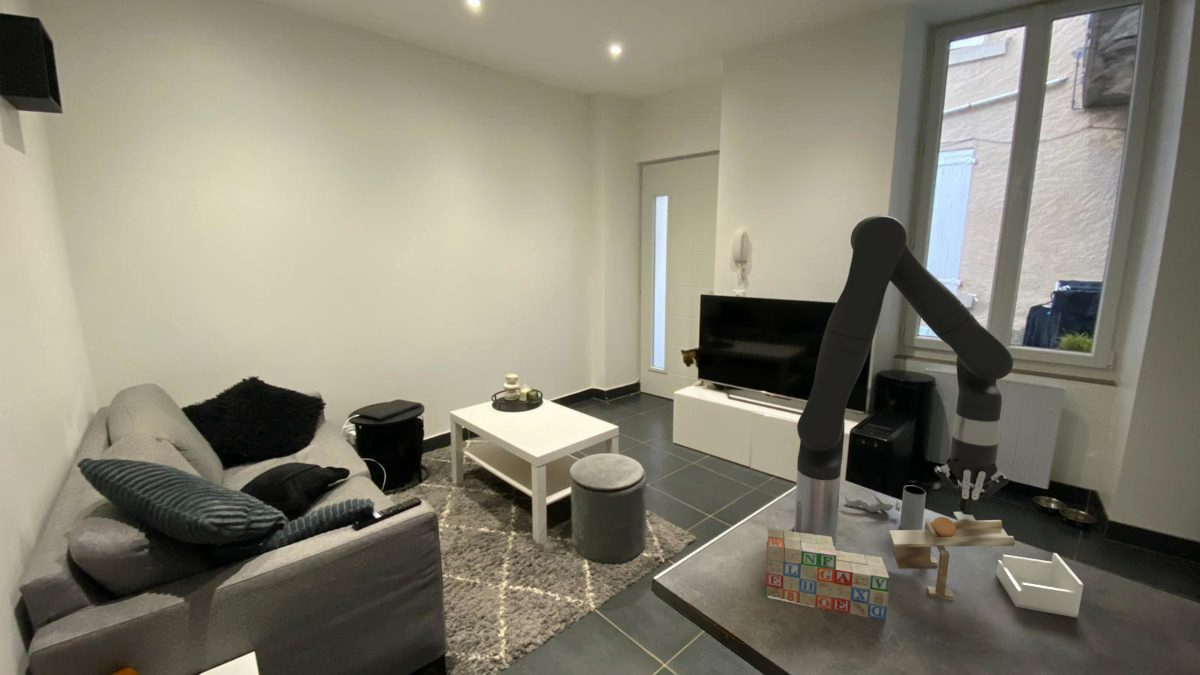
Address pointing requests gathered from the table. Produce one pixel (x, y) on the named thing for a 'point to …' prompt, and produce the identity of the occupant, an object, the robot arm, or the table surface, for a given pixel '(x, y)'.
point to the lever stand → (940, 576)
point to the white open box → (1041, 584)
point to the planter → (912, 508)
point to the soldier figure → (873, 504)
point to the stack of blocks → (825, 575)
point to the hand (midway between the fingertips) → (965, 512)
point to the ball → (944, 527)
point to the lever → (945, 540)
